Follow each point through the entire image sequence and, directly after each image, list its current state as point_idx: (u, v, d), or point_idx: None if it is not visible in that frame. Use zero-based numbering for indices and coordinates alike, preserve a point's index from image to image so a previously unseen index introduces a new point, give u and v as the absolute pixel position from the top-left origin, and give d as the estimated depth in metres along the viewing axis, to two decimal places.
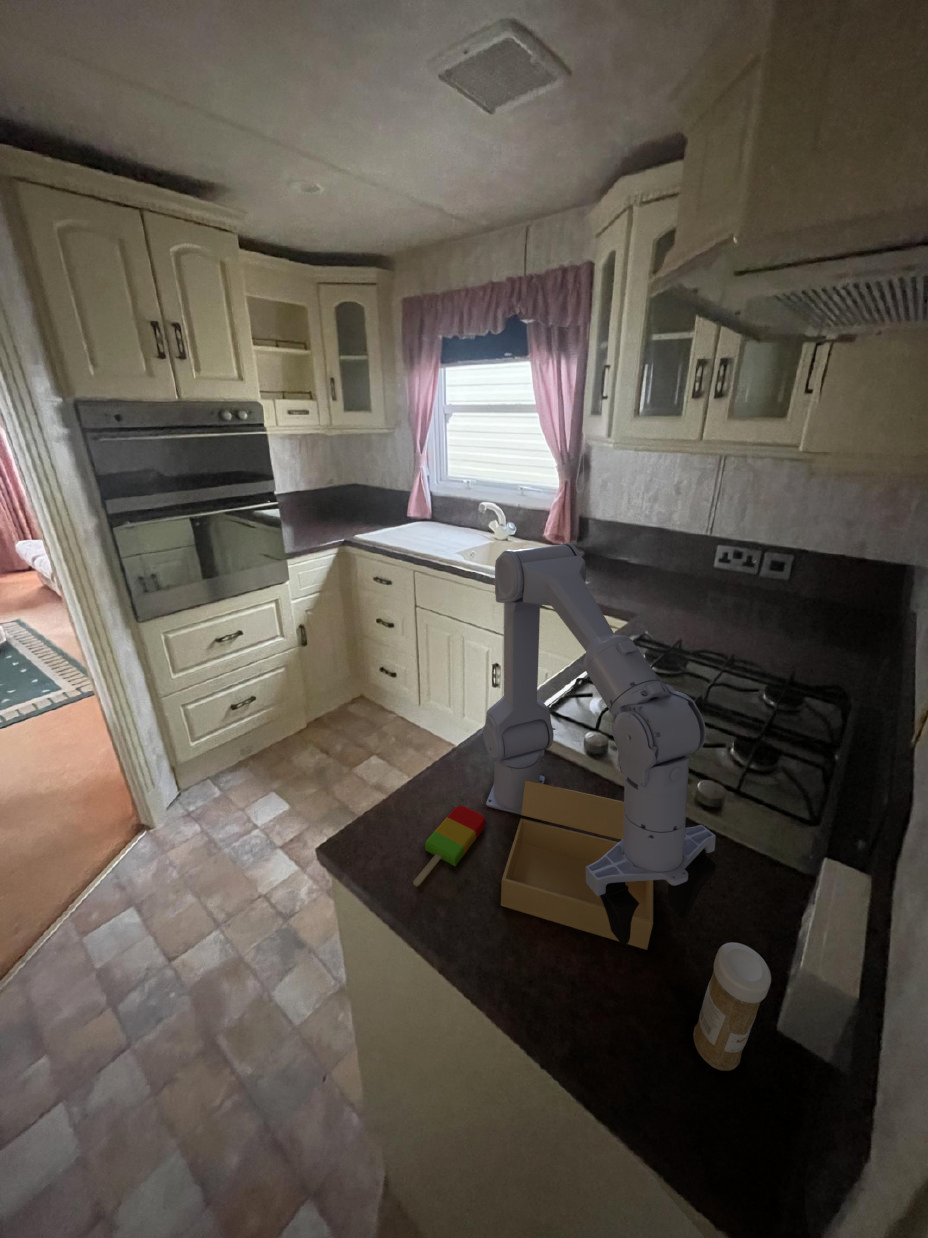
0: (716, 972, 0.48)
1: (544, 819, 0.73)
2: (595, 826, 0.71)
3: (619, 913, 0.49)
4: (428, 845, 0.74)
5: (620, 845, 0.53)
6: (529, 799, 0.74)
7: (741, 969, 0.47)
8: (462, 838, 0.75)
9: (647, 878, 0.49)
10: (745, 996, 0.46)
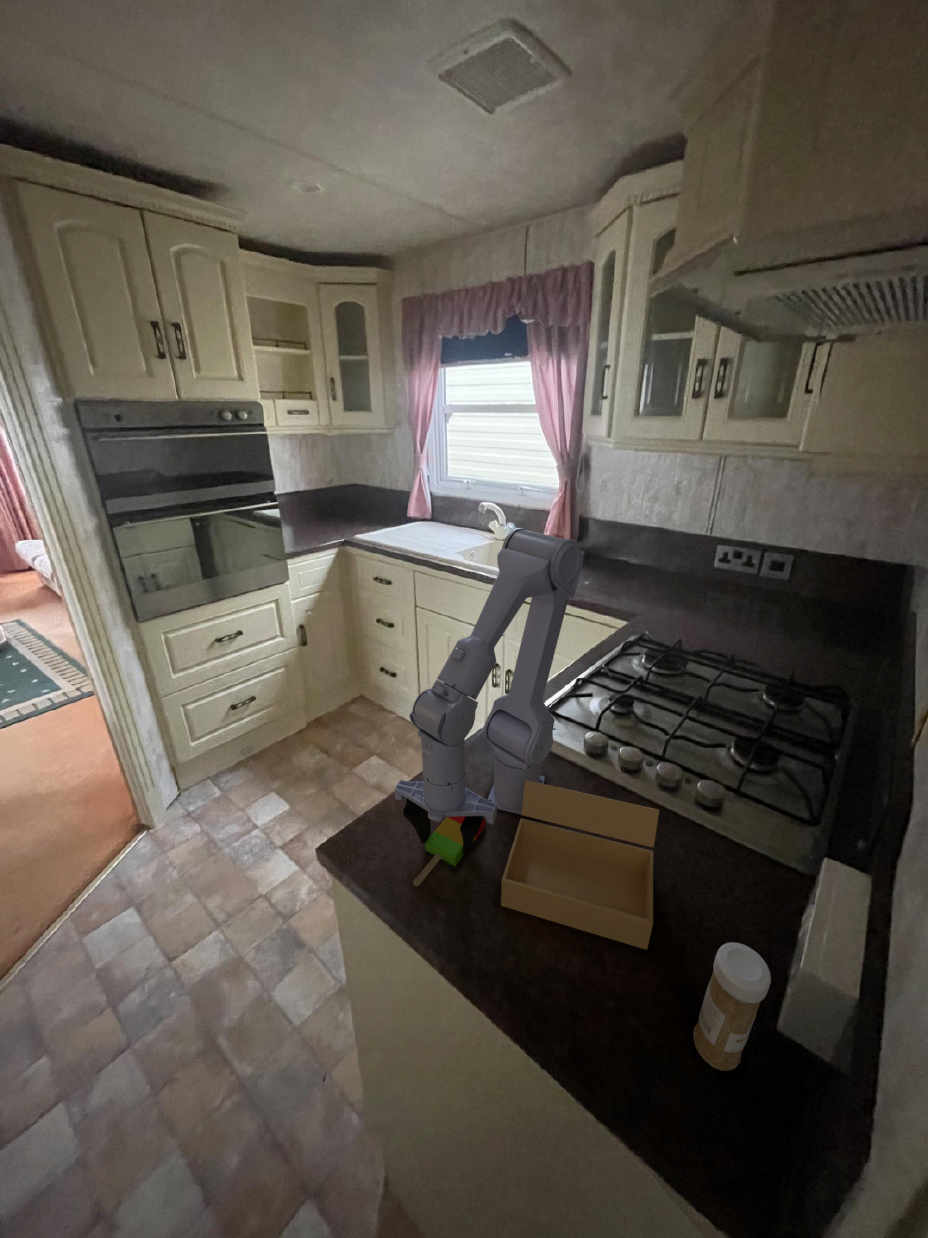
0: (716, 972, 0.48)
1: (544, 819, 0.73)
2: (595, 826, 0.71)
3: (405, 816, 0.72)
4: (428, 845, 0.74)
5: None
6: (529, 799, 0.74)
7: (741, 969, 0.47)
8: (462, 838, 0.75)
9: (421, 806, 0.70)
10: (745, 995, 0.46)
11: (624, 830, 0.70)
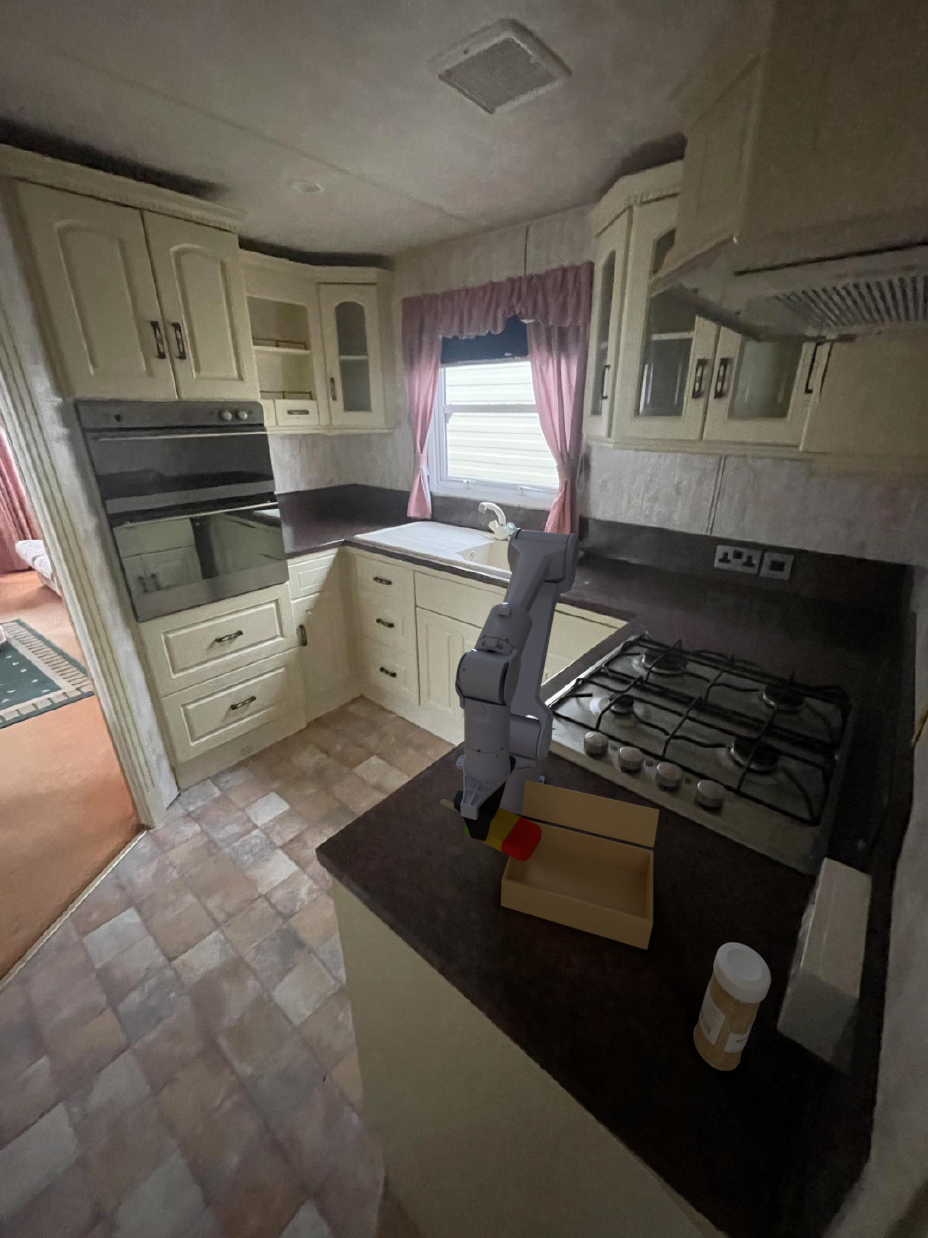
0: (716, 972, 0.48)
1: (544, 819, 0.73)
2: (595, 826, 0.71)
3: None
4: None
5: None
6: (529, 799, 0.74)
7: (741, 969, 0.47)
8: (491, 830, 0.68)
9: None
10: (745, 995, 0.46)
11: (624, 830, 0.70)
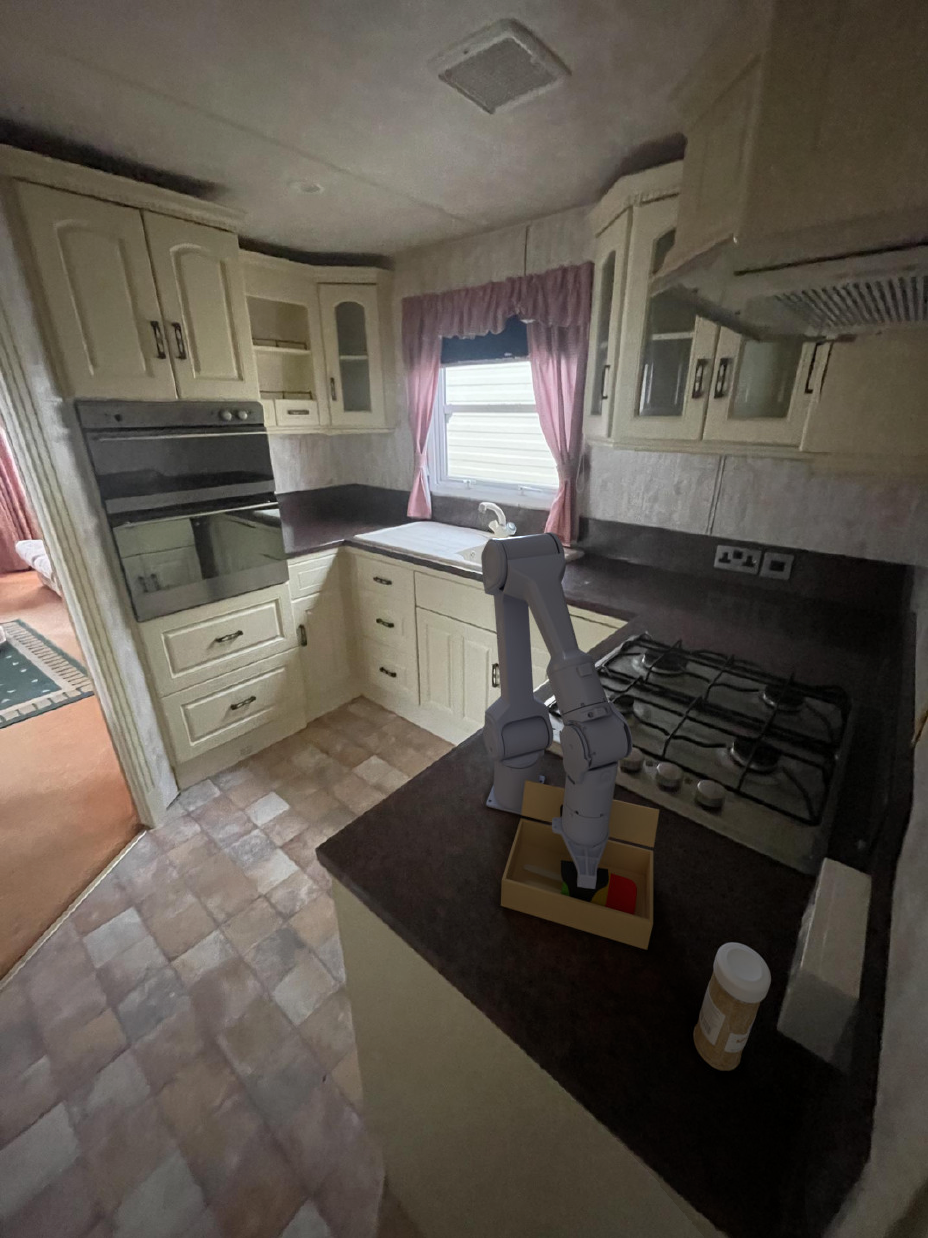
0: (716, 972, 0.48)
1: (544, 819, 0.73)
2: None
3: None
4: None
5: None
6: (529, 799, 0.74)
7: (741, 969, 0.47)
8: None
9: None
10: (745, 995, 0.46)
11: (624, 830, 0.70)
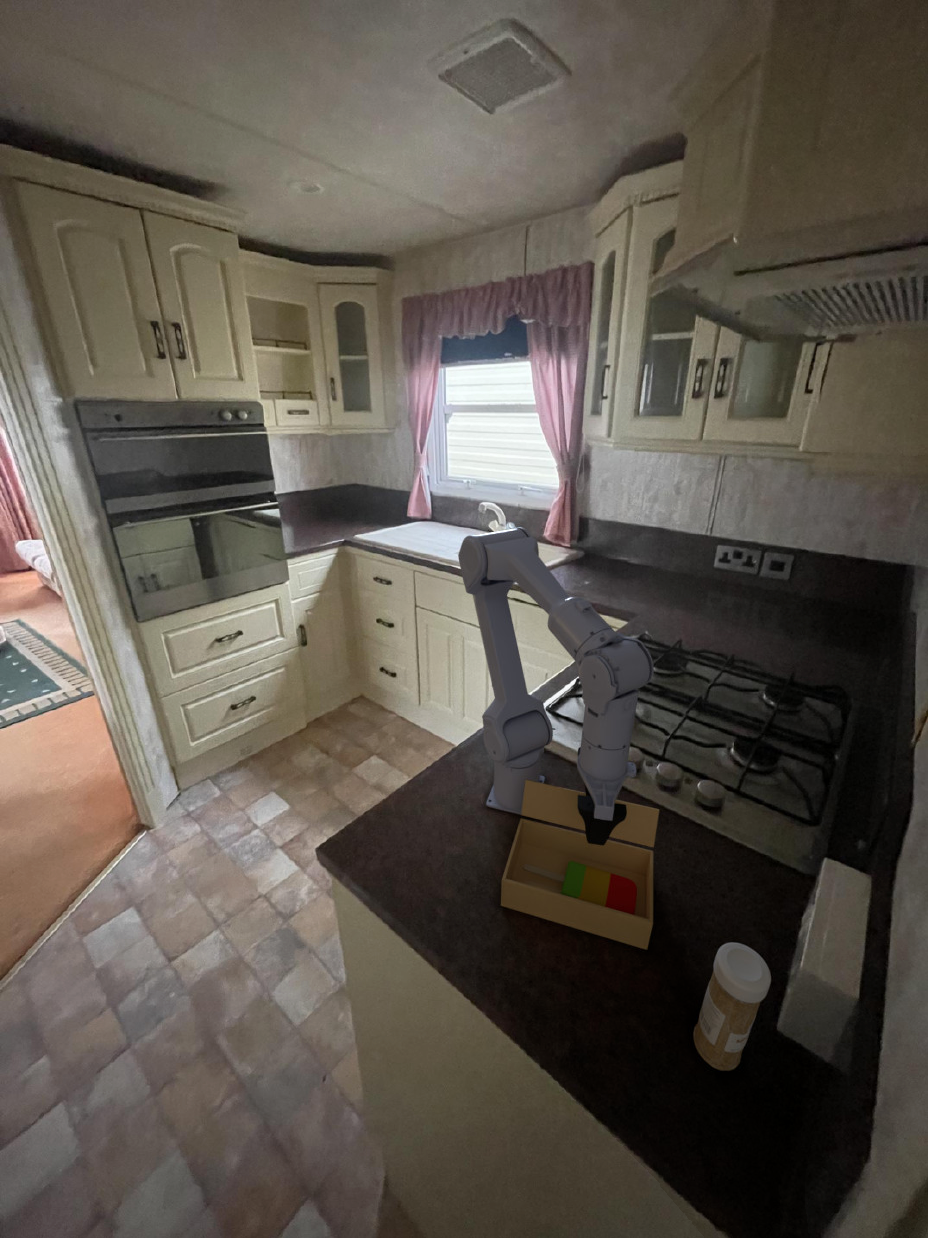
0: (716, 972, 0.48)
1: (544, 819, 0.73)
2: None
3: None
4: (568, 864, 0.71)
5: (586, 775, 0.62)
6: (529, 799, 0.74)
7: (741, 969, 0.47)
8: (589, 894, 0.66)
9: (622, 783, 0.61)
10: (745, 995, 0.46)
11: (624, 830, 0.70)
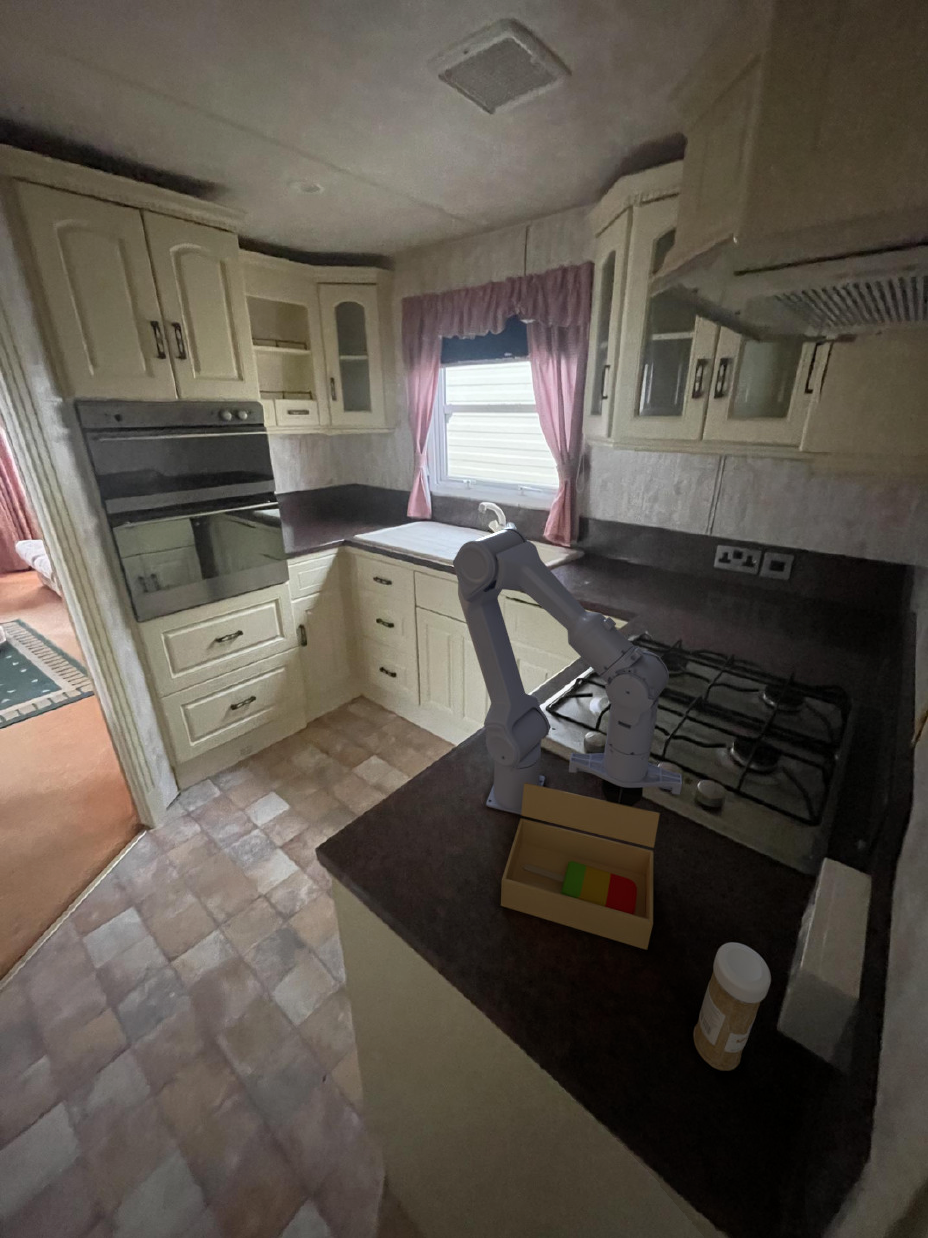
0: (716, 972, 0.48)
1: (544, 819, 0.73)
2: (595, 827, 0.71)
3: None
4: (568, 864, 0.71)
5: (642, 781, 0.67)
6: (528, 801, 0.73)
7: (741, 969, 0.47)
8: (589, 894, 0.66)
9: None
10: (745, 995, 0.46)
11: (624, 831, 0.70)
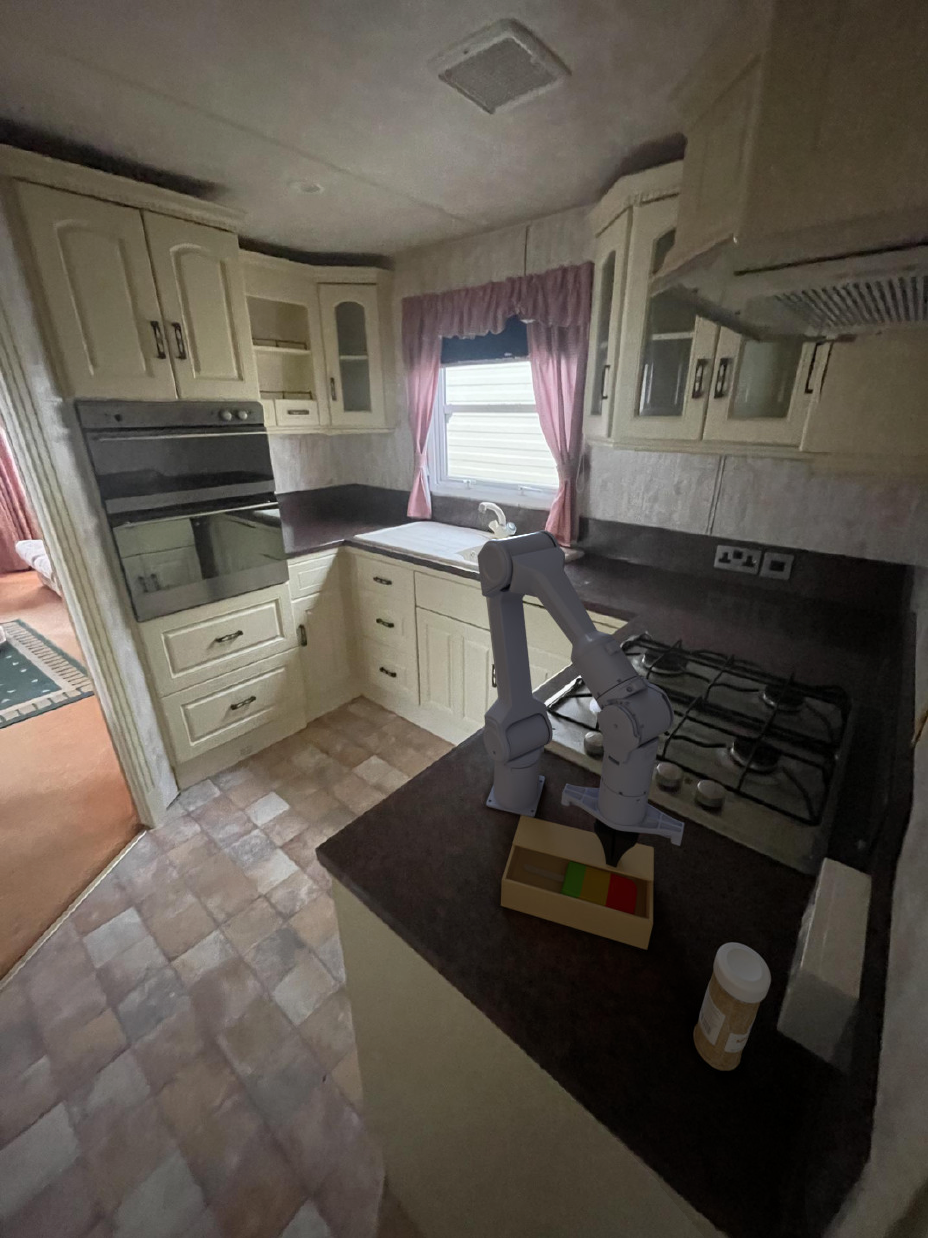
0: (716, 972, 0.48)
1: None
2: None
3: None
4: (568, 864, 0.71)
5: (638, 825, 0.61)
6: None
7: (741, 969, 0.47)
8: (589, 894, 0.66)
9: None
10: (745, 995, 0.46)
11: None
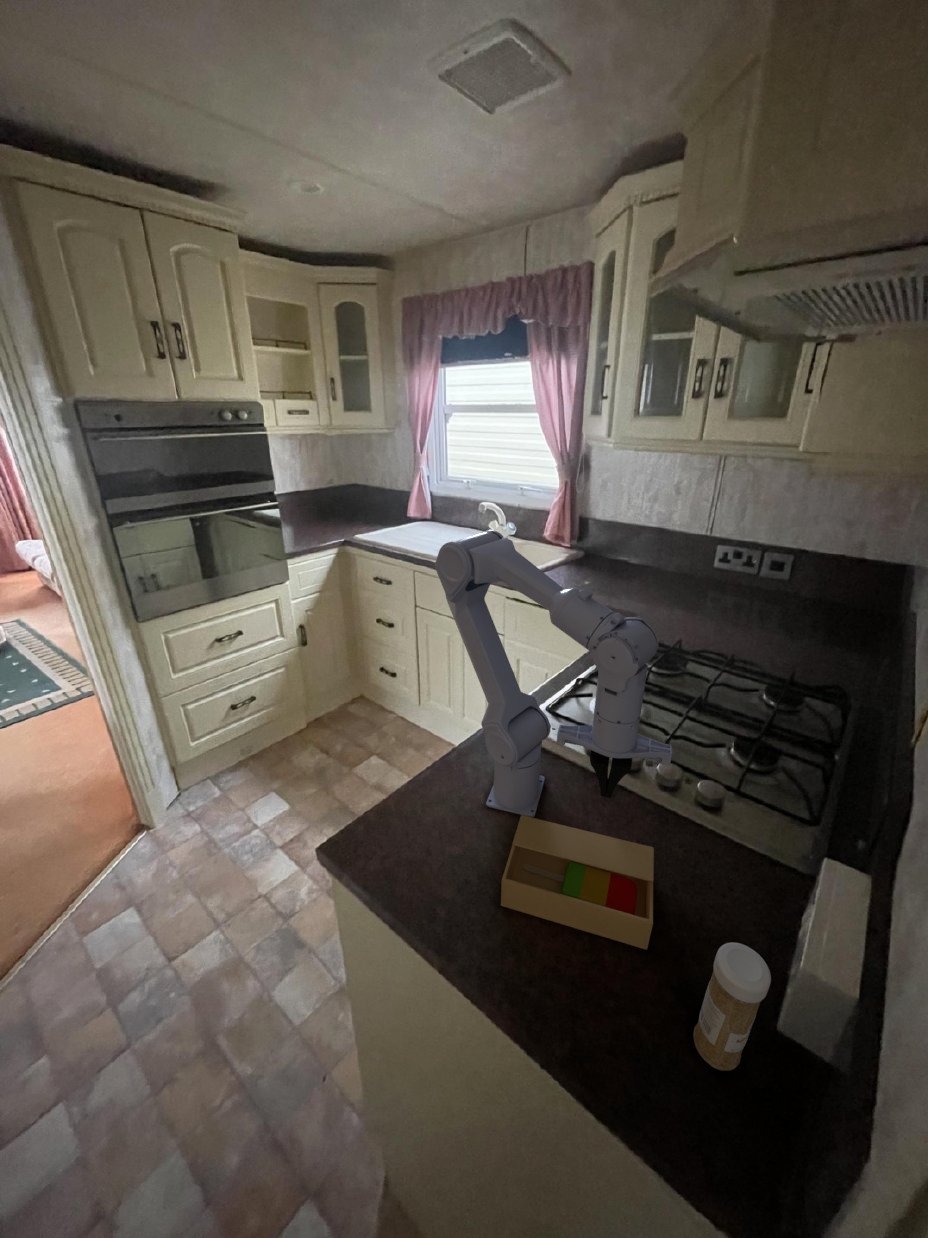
0: (716, 972, 0.48)
1: None
2: None
3: None
4: (568, 864, 0.71)
5: (631, 751, 0.65)
6: None
7: (741, 969, 0.47)
8: (589, 894, 0.66)
9: None
10: (745, 995, 0.46)
11: None
